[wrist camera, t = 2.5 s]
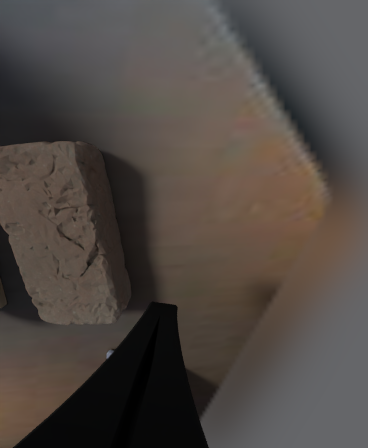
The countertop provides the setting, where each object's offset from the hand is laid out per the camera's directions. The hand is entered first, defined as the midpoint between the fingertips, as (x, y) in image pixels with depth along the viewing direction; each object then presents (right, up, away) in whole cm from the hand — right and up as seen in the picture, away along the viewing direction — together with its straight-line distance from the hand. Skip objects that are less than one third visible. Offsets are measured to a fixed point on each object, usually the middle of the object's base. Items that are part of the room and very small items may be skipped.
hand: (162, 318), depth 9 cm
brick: (-9, +4, +10) cm, 14 cm away
